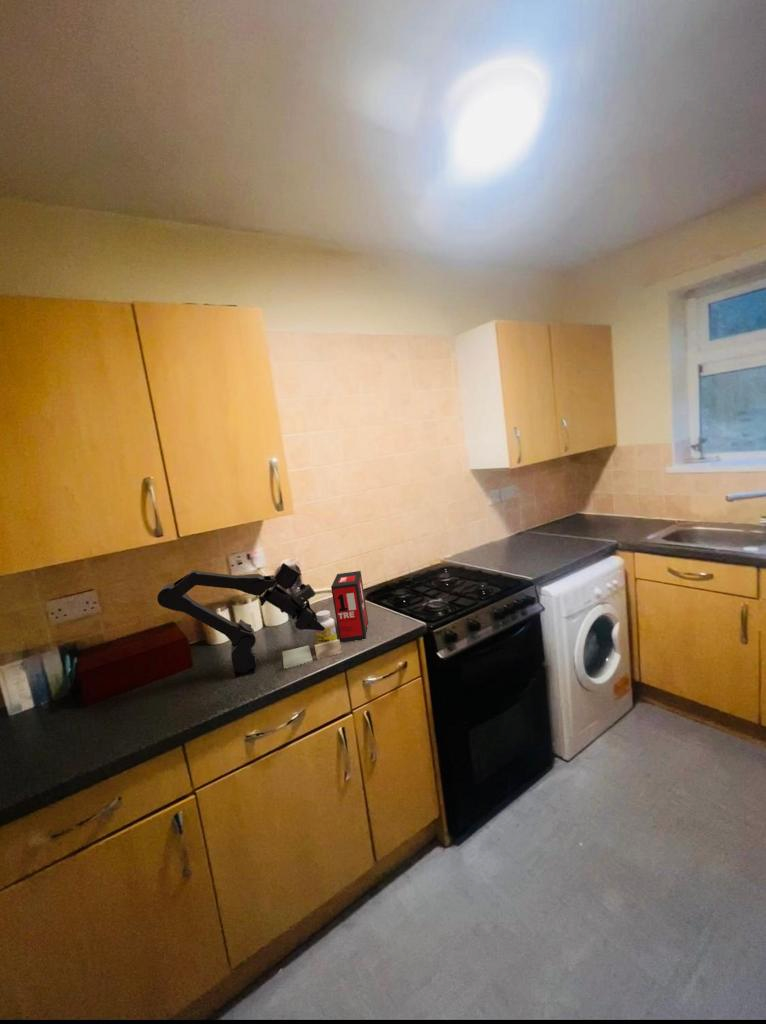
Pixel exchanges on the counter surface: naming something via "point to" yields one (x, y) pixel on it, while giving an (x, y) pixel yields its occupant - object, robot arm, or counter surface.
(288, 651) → the sage board
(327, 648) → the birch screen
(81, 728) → the counter surface
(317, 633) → the supplement bottle
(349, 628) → the cleaning product box
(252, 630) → the robot arm
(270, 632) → the counter surface
